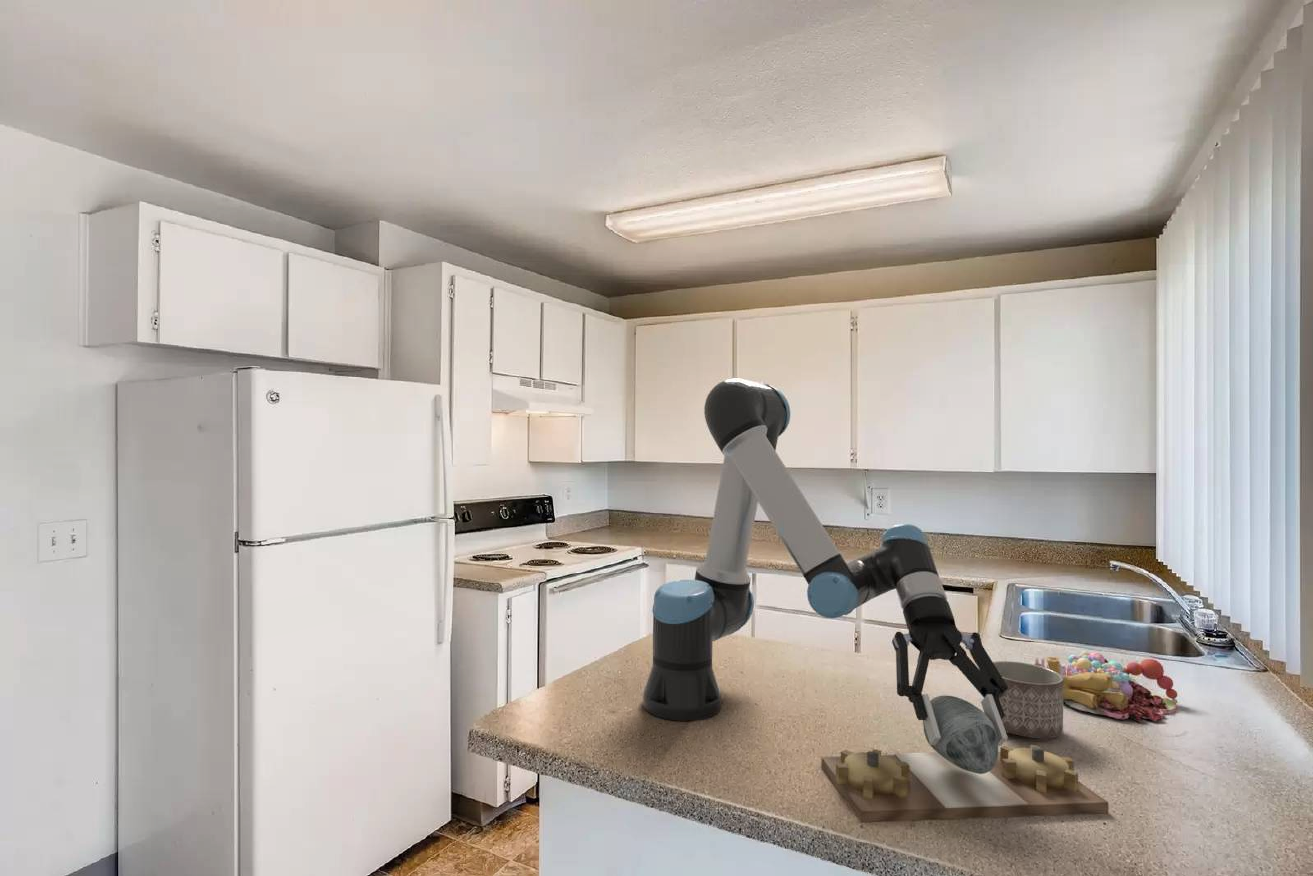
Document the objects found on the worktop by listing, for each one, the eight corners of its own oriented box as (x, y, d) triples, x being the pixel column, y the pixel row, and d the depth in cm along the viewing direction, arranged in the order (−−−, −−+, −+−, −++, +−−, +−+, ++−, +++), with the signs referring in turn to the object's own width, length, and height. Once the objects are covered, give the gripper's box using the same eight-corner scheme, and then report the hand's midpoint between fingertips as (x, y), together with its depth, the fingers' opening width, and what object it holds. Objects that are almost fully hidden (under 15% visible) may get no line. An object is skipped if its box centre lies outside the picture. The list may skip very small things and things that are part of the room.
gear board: (858, 822, 92) (858, 781, 92) (819, 766, 108) (819, 731, 108) (1111, 812, 95) (1111, 773, 95) (1036, 760, 111) (1036, 726, 111)
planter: (988, 737, 120) (988, 678, 120) (980, 711, 132) (981, 657, 132) (1070, 749, 115) (1070, 688, 116) (1054, 721, 127) (1055, 666, 127)
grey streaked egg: (1024, 761, 93) (983, 691, 96) (961, 791, 93) (923, 720, 96) (992, 743, 106) (957, 682, 109) (937, 769, 107) (904, 708, 109)
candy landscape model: (1152, 735, 122) (1152, 684, 123) (1015, 697, 140) (1015, 652, 140) (1186, 702, 139) (1186, 657, 139) (1059, 672, 157) (1060, 632, 157)
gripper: (981, 618, 117) (1032, 752, 101) (856, 617, 117) (887, 751, 101) (996, 594, 112) (1054, 731, 96) (866, 593, 112) (901, 730, 95)
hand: (968, 741), depth 98 cm, fingers closed on grey streaked egg, 9 cm apart
